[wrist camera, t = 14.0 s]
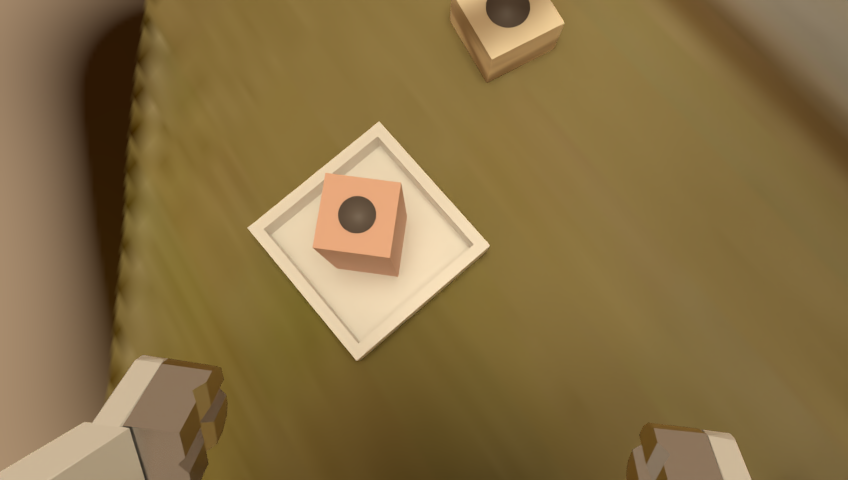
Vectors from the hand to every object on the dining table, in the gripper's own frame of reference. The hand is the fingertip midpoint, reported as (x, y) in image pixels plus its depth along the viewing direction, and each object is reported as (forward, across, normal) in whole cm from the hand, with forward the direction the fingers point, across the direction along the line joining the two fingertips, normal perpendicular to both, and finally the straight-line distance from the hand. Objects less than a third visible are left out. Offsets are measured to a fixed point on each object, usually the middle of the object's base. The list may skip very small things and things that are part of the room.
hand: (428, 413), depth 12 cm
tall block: (+28, +5, +16) cm, 32 cm away
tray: (+28, +5, +16) cm, 33 cm away
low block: (+41, -2, +4) cm, 41 cm away
